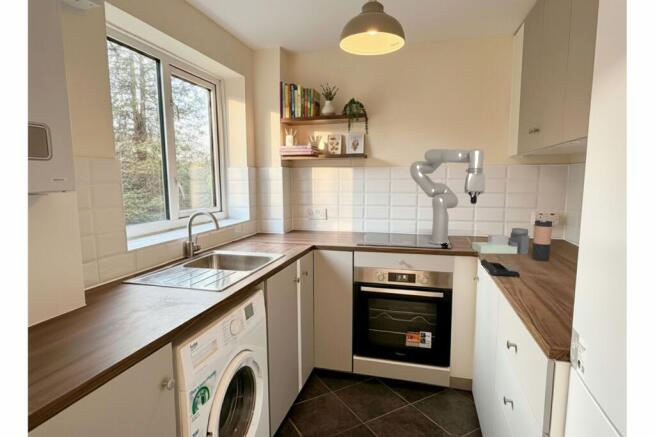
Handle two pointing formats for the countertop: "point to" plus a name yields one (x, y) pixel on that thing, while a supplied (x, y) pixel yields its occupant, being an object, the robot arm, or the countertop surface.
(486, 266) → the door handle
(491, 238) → the lock block
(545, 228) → the travel mug
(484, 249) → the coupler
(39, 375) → the countertop surface
